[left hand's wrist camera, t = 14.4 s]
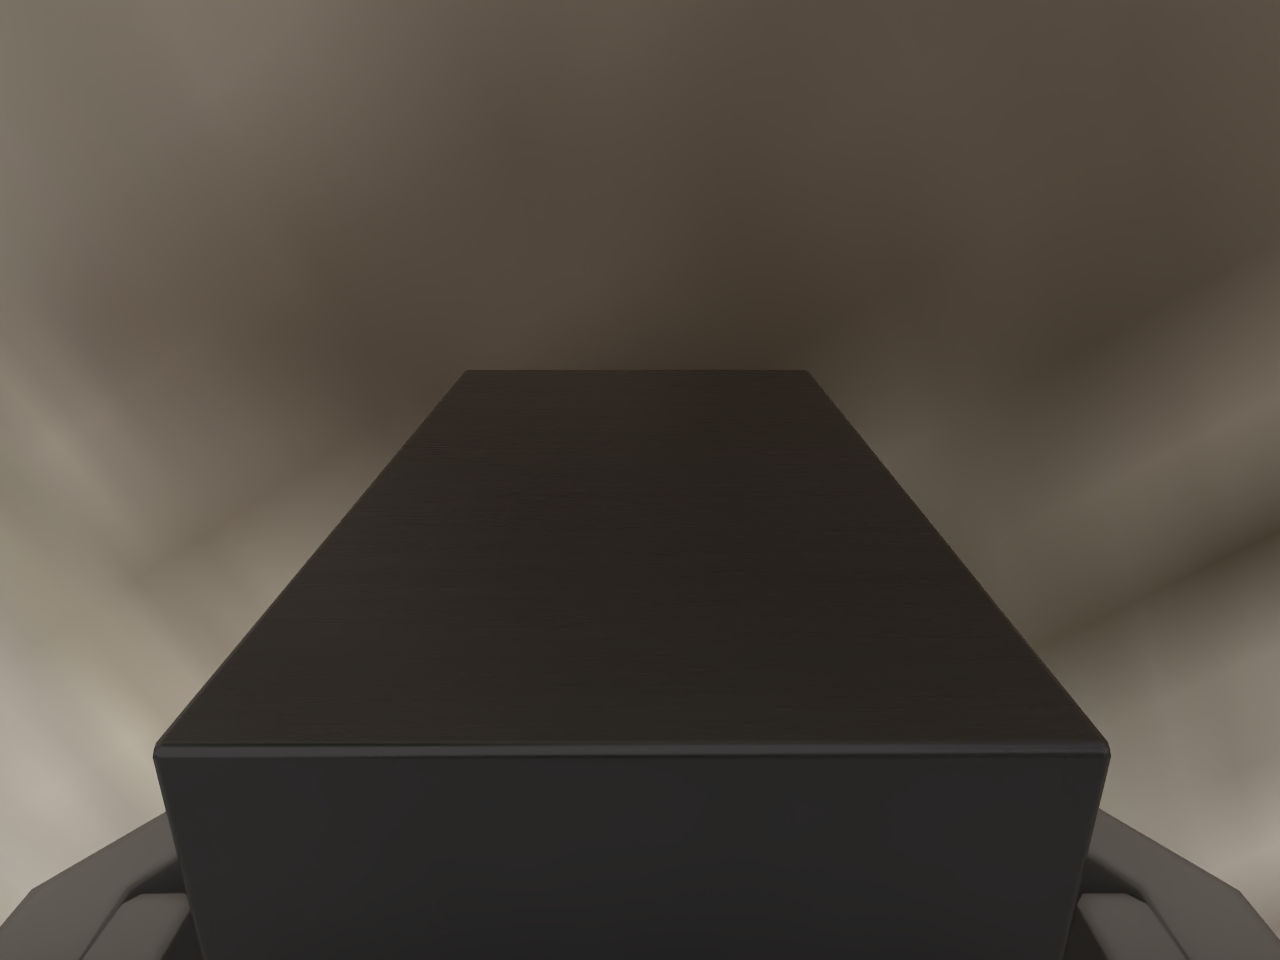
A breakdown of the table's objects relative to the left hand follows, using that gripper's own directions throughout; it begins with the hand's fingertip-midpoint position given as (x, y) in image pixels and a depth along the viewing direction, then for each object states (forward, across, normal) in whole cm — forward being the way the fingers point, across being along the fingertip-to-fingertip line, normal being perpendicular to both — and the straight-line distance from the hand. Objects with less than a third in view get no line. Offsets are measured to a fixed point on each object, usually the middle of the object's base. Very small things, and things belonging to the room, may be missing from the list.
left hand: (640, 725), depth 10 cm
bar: (+3, 0, -9) cm, 9 cm away
